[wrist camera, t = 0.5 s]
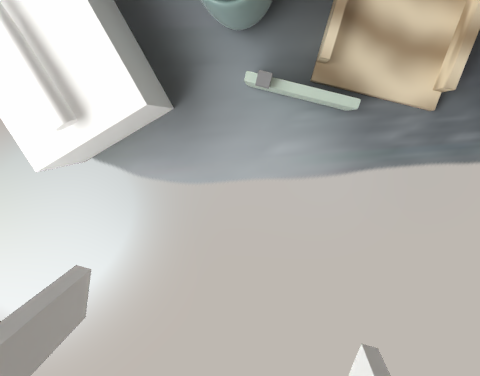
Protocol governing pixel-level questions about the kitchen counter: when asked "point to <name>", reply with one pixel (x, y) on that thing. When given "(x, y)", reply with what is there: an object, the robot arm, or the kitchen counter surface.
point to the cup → (237, 12)
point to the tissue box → (72, 79)
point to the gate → (300, 91)
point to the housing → (397, 48)
